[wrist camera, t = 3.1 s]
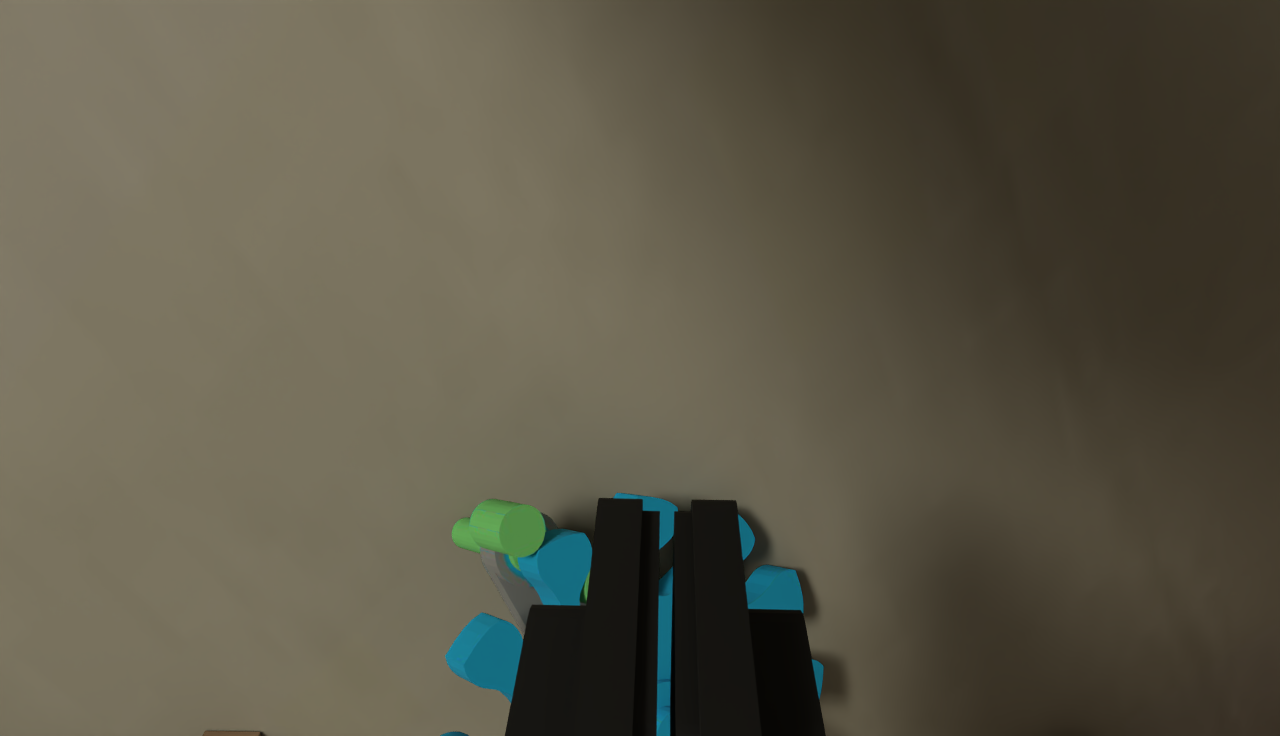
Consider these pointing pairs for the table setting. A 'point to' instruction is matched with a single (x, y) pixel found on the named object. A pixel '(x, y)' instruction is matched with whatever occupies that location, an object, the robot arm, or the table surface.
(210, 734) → the frame
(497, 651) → the gear
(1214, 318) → the table surface
